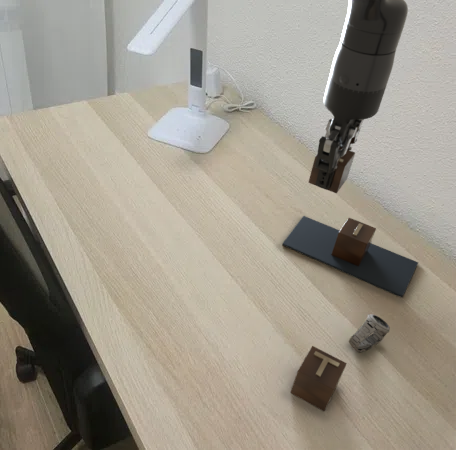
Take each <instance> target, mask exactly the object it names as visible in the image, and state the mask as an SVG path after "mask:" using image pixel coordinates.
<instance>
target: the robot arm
mask: <svg viewBox="0 0 456 450" xmlns="http://www.w3.org/2000/svg"><path fill="white" fill-rule="evenodd" d="M408 12H409V8H408V4H407V2H406V0H348V6H347V13H346V16H345V20H344V21H345V22H344V24H343V29H342V33H341V37H340V41H339V44H338V46H337V48H336V51H335V54H334V57H333V59H332V63H331V68H330V73H329V76H328V80H327V84H326V87H325V91H324V96H323V100H322V102H323V106H324V107H325V108H326V110H327V111H328V112H330V113H331V114H332V116H333V118H329V119H328V121H327V124H326V127H325V135H324V136H323V135H322V136H321V137H320V138H319V139H318V147H317V152H316V155H317V158H316V163H315V168H318V169H319V172H318V176H317V180H316V185H315V187H317V188H320V189H323V190H326V191H329V190H328V189H329V188H330V187H331V184H332V181H333V178H334V174H335V171H336V169H337V168H338V163H339V161H340V158H341V157H342V156H344V155H345V154H346V152H347V150H349V151H353V150H352V149H353V144H356V142H357V141H358V137H359V133H360V131H361V128H362V127H363V123H364V120H368V119H371V118H372V117H374V116H376V114H378V112H379V109H380V107H381V103H382V100H383V97H384V94H385V91H386V88H387V85H388V83H389V79H390V77H391V73H392V70H393V67H394V62H395V56H396V51H397V49H398V46H399V43H400V39H401V36H402V33H403V30H404V27H405V24H406V21H407V17H408ZM339 147H341V148H342V149H339Z"/></svg>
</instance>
